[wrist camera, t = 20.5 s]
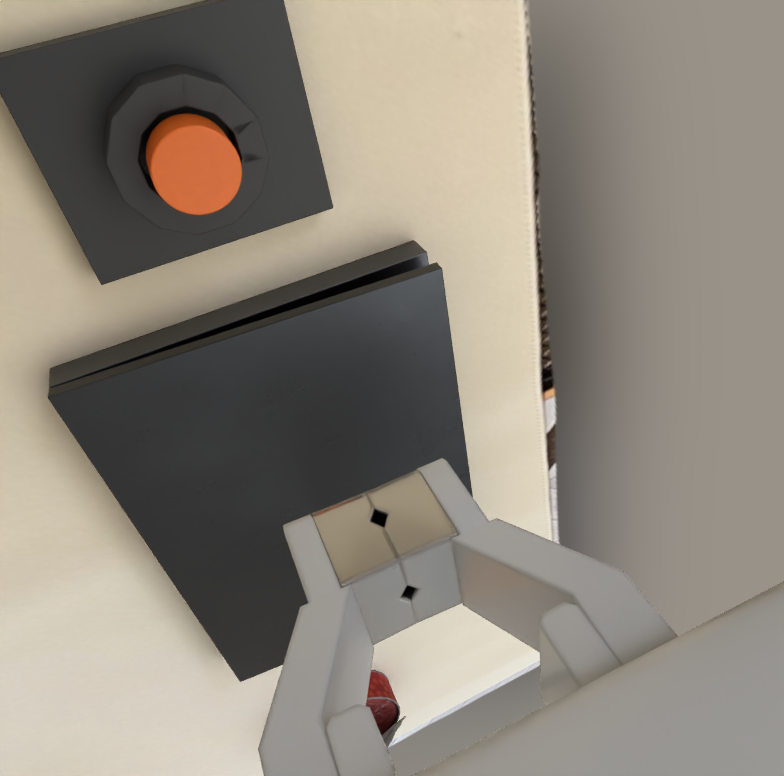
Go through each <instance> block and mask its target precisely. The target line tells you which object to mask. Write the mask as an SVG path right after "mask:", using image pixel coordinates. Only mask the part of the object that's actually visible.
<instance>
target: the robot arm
mask: <svg viewBox="0 0 784 776" xmlns="http://www.w3.org/2000/svg"><path fill="white" fill-rule="evenodd" d="M312 516H313V518H312ZM312 516H311V514H309V515H307V516H304V517H302V518H299V519H297V520H294V521H292V522H289V523H287V524H284V525H283V528H284V534H285V537H286V540H287V542H288V545H289V548H290V551H291V554H292V557H293V560H294V563H295V566H296V568H297V571H298V574H299V577H300V580H301V583H302V586H303V589H304V592H305V594H306V597H307V600H308V603H307V604H305V605H303V606H301V607H300V609H299V613H298V616H297V620H296V623H295V626H294V630H293V633H292V636H291V640H290V643H289V647H288V650H287V653H286V657H285V660H284V663H283V667H282V670H281V674H280V677H279V680H278V684H277V687H276V690H275V694H274V697H273V701H272V704H271V707H270V711H269V714H268V717H267V721H266V724H265V728H264V731H263V734H262V738H261V741H260V744H259V748H258V751H259V755H260V760H261V764H262V769H263V773H264V776H398V774H397V772H396V769H395V767H394V764H393V762H392V760H391V757H390V755H389V753H388V750H387V748H386V745H385V743H384V740H383V738H382V736H381V733H380V731H379V728H378V726H377V724H376V721H375V719H374V716H373V714H372V712H371V709H370V707H367V706H366V701H367V694H368V687H369V680H370V673H371V666H372V659H373V652H374V647H373V645H374V644H376V643H378V642H380V641H382V640H384V639H386V638H388V637H390V636H392V635H394V634H396V633H398V632H400V631H402V630H404V629H406V628H408V627H410V626H412V625H414V624H416V623H417V622H420V621H422V620H425V619H427V618H429V617H431V616H434V615H436V614H438V613H440V612H443V611H445V610H447V609H450V608H452V607H454V606H456V605H459V604H461V603H463V605H464V606H465V607H467V608H469V609H470V610H472V611H474V612H475V613H477V614H478V615H480V616H482V617H483V618H485V619H486V620H488V621H490V622H491V623H493V624H495V625H496V626H498V627H499V628H501V629H503V630H504V631H506V632H508V633H509V634H511V635H512V636H514V637H516V638H517V639H519V640H520V641H522V642H524V643H525V644H527V645H529V646H530V647H532V648H533V649H535V650H537V651H538V652H540V673H541V698H542V700H543V702H544V703H545V705H546V706H544V707H542V708H540V709H538V710H537V711H535V712H533V713H531V714H529V715H527V716H525V717H523V718H521V719H519V720H517V721H515V722H514V723H511V724H510V725H508V726H506V727H504V728H502V729H500V730H498V731H496V732H494V733H492V734H490V735H488V736H487V737H485V738H483V739H481V740H479V741H477V742H475V743H473V744H471V745H469V746H467V747H465V748H464V749H462V750H460V751H458V752H456V753H454V754H452V755H450V756H448V757H446V758H445V759H442V760H441V761H439V762H437V763H435V764H433V765H431V766H429V767H427V768H425V769H423V770H421V771H420V772H418V773H416V774H414V775H412V776H784V581H783V582H781V583H780V584H778V585H776V586H774V587H772V588H770V589H768V590H766V591H764V592H762V593H760V594H759V595H757V596H755V597H753V598H751V599H749V600H747V601H745V602H743V603H741V604H739V605H737V606H736V607H734V608H732V609H730V610H728V611H726V612H724V613H722V614H720V615H718V616H716V617H715V618H713V619H711V620H709V621H707V622H705V623H703V624H701V625H699V626H697V627H696V628H693V629H692V630H690V631H688V632H686V633H684V634H682V635H680V636H677V634H676V633H675V632H674V631H673V629H672V628H671V627H670V626H669V625H668V624H667V622H666V621H665V620H664V619H663V618H662V616H661V615H660V614H659V613H658V612H657V610H656V609H655V608H654V607H653V606H652V605H651V603H650V602H649V601H648V600H647V599H646V597H645V596H644V595H643V594H642V593H641V591H639V589H638V588H637V587H636V586H635V584H634V583H633V582H632V581H631V580H630V578H629V577H628V576H627V575H626V574H625V573H624V571H621V570H619V569H617V568H614V567H612V566H610V565H607V564H605V563H602V562H600V561H598V560H595V559H593V558H591V557H588V556H586V555H583V554H581V553H578V552H576V551H574V550H571V549H569V548H567V547H564V546H562V545H559V544H557V543H555V542H552V541H550V540H548V539H545V538H543V537H540V536H538V535H536V534H533V533H531V532H528V531H526V530H524V529H521V528H519V527H516V526H514V525H512V524H509V523H507V522H504V521H502V520H500V519H497V518H496V519H494V520H491V521H488V519H487V518H486V516H485V515H484V513H483V512H482V511H481V509H480V508H479V506H478V505H477V503H476V502H475V500H474V499H473V498H472V496H471V495H470V493H469V492H468V490H467V489H466V488H465V486H464V485H463V483H462V482H461V480H460V479H459V478H458V476H457V475H456V473H455V472H454V470H453V469H452V467H451V466H450V465H449V463H448V462H447V461H446V460H445V459H443V458H441V459H439V460H436V461H434V462H432V463H429V464H427V465H425V466H422V467H420V468H418V469H417V470H415V469H414V470H412V471H410V472H408V473H405V474H403V475H401V476H398V477H396V478H394V479H392V480H389V481H387V482H385V483H382V484H380V485H378V486H376V487H373V488H371V489H369V490H366V491H364V493H361V494H359V495H356V496H354V497H351V498H349V499H346V500H344V501H341V502H338V503H336V504H333V505H331V506H328V507H326V508H323V509H321V510H318V511H316V512H313V513H312ZM313 519H314V520H313ZM315 524H316V525H315Z"/></svg>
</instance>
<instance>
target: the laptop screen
mask: <svg viewBox="0 0 784 776" xmlns="http://www.w3.org/2000/svg"><path fill="white" fill-rule="evenodd" d="M48 399H49V400H50V402H51V403H52V405H53V406H54V408H55V409H56V411H57V412H58V413H59V415H60V416H61V418H62V419H63V421H64V422H65V424H66V425H67V427H68V428H69V430H70V431H71V433H72V434H73V436H74V437H75V439H76V440H77V442H78V443H79V444H80V446H81V447H82V449H83V450H84V452H85V453H86V455H87V456H88V458H89V459H90V461H91V462H92V464H93V465H94V467H95V468H96V470H97V471H98V473H99V474H100V475H101V477H102V478H103V480H104V481H105V483H106V484H107V486H108V487H109V489H110V490H111V492H112V493H113V495H114V496H115V498H116V499H117V501H118V502H119V504H120V505H121V506H122V508H123V509H124V511H125V512H126V514H127V515H128V517H129V518H130V520H131V521H132V523H133V524H134V526H135V527H136V529H137V530H138V532H139V533H140V535H141V536H142V538H143V539H144V540H145V542H146V543H147V545H148V546H149V548H150V549H151V551H152V552H153V554H154V555H155V557H156V558H157V560H158V561H159V563H160V564H161V566H162V567H163V569H164V570H165V571H166V573H167V574H168V576H169V577H170V579H171V580H172V582H173V583H174V585H175V586H176V588H177V589H178V591H179V592H180V594H181V595H182V597H183V598H184V600H185V601H186V602H187V604H188V605H189V607H190V608H191V610H192V611H193V613H194V614H195V616H196V617H197V619H198V620H199V622H200V623H201V625H202V626H203V628H204V629H205V631H206V632H207V634H208V635H209V636H210V638H211V639H212V641H213V642H214V644H215V645H216V647H217V648H218V650H219V651H220V653H221V654H222V656H223V657H224V659H225V660H226V662H227V663H228V665H229V666H230V667H231V669H232V670H233V672H234V673H235V675H236V676H237V678H238V679H239V681H240V682H241V681H244V680H246V679H249V678H251V677H254V676H256V675H258V674H261V673H263V672H266V671H268V670H271V669H273V668H276V667H278V666H280V665H283V663H284V660H285V657H286V653H287V650H288V647H289V643H290V640H291V636H292V633H293V630H294V626H295V623H296V620H297V616H298V613H299V609H300V607H301V606H303V605H305V604H307V603H308V600H307V597H306V594H305V592H304V589H303V586H302V583H301V580H300V577H299V574H298V571H297V568H296V566H295V563H294V560H293V557H292V554H291V551H290V548H289V545H288V542H287V540H286V537H285V534H284V528H283V525H284V524H287V523H289V522H292V521H294V520H297V519H299V518H302V517H304V516H307V515H309V514H311V516H312V513H313V512H316V511H318V510H321V509H323V508H326V507H328V506H331V505H333V504H336V503H338V502H341V501H344V500H346V499H349V498H351V497H354V496H356V495H359V494H361V493H364V491H366V490H369V489H371V488H373V487H376V486H378V485H380V484H382V483H385V482H387V481H389V480H392V479H394V478H396V477H398V476H401V475H403V474H405V473H408V472H410V471H412V470H414V469H415V470H417V469H418V468H420V467H422V466H425V465H427V464H429V463H432V462H434V461H436V460H439V459H441V458H443V459H445V460H446V461H447V462H448V463H449V465H450V466H451V467H452V469H453V470H454V472H455V473H456V475H457V476H458V478H459V479H460V480H461V482H462V483H463V485H464V486H465V488H466V489H467V490H468V492H469V493H470V495H471V496H472V488H471V481H470V473H469V466H468V458H467V451H466V444H465V436H464V429H463V421H462V414H461V407H460V399H459V392H458V384H457V377H456V369H455V362H454V355H453V347H452V340H451V332H450V325H449V317H448V310H447V303H446V295H445V288H444V280H443V273H442V268H441V267H440V266H439V265H438V263H433V264H430V265H427V266H424V267H421V268H418V269H415V270H412V271H409V272H406V273H403V274H399V275H396V276H393V277H390V278H387V279H384V280H381V281H378V282H375V283H372V284H369V285H366V286H363V287H360V288H357V289H353V290H350V291H347V292H344V293H341V294H338V295H335V296H332V297H329V298H326V299H323V300H320V301H317V302H314V303H311V304H307V305H304V306H301V307H298V308H295V309H292V310H289V311H286V312H283V313H280V314H277V315H274V316H271V317H268V318H265V319H261V320H258V321H255V322H252V323H249V324H246V325H243V326H240V327H237V328H234V329H231V330H228V331H225V332H222V333H219V334H215V335H212V336H209V337H206V338H203V339H200V340H197V341H194V342H191V343H188V344H185V345H182V346H179V347H176V348H173V349H170V350H166V351H163V352H160V353H157V354H154V355H151V356H148V357H145V358H142V359H139V360H136V361H133V362H130V363H127V364H124V365H120V366H117V367H114V368H111V369H108V370H105V371H102V372H99V373H96V374H93V375H90V376H87V377H84V378H81V379H78V380H74V381H71V382H68V383H65V384H62V385H59V386H56V387H53V388H50V389H49V393H48ZM472 498H473V496H472ZM312 518H313V516H312ZM313 520H314V519H313ZM315 525H316V524H315Z"/></svg>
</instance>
